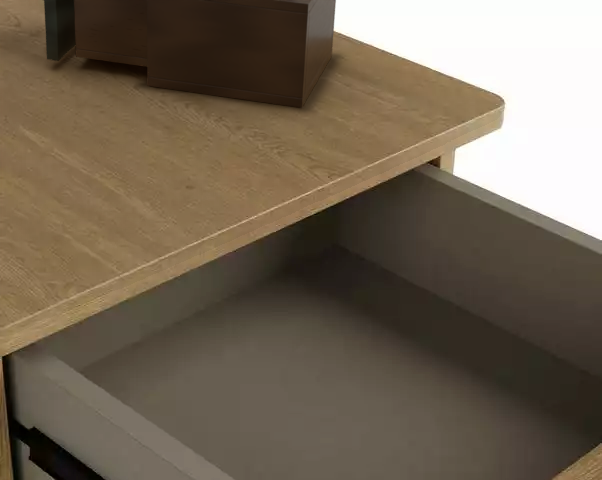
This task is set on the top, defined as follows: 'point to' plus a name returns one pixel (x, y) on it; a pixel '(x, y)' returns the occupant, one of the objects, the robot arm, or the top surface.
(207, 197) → the top surface
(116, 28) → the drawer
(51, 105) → the top surface
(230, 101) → the top surface
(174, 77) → the brown rectangular box
